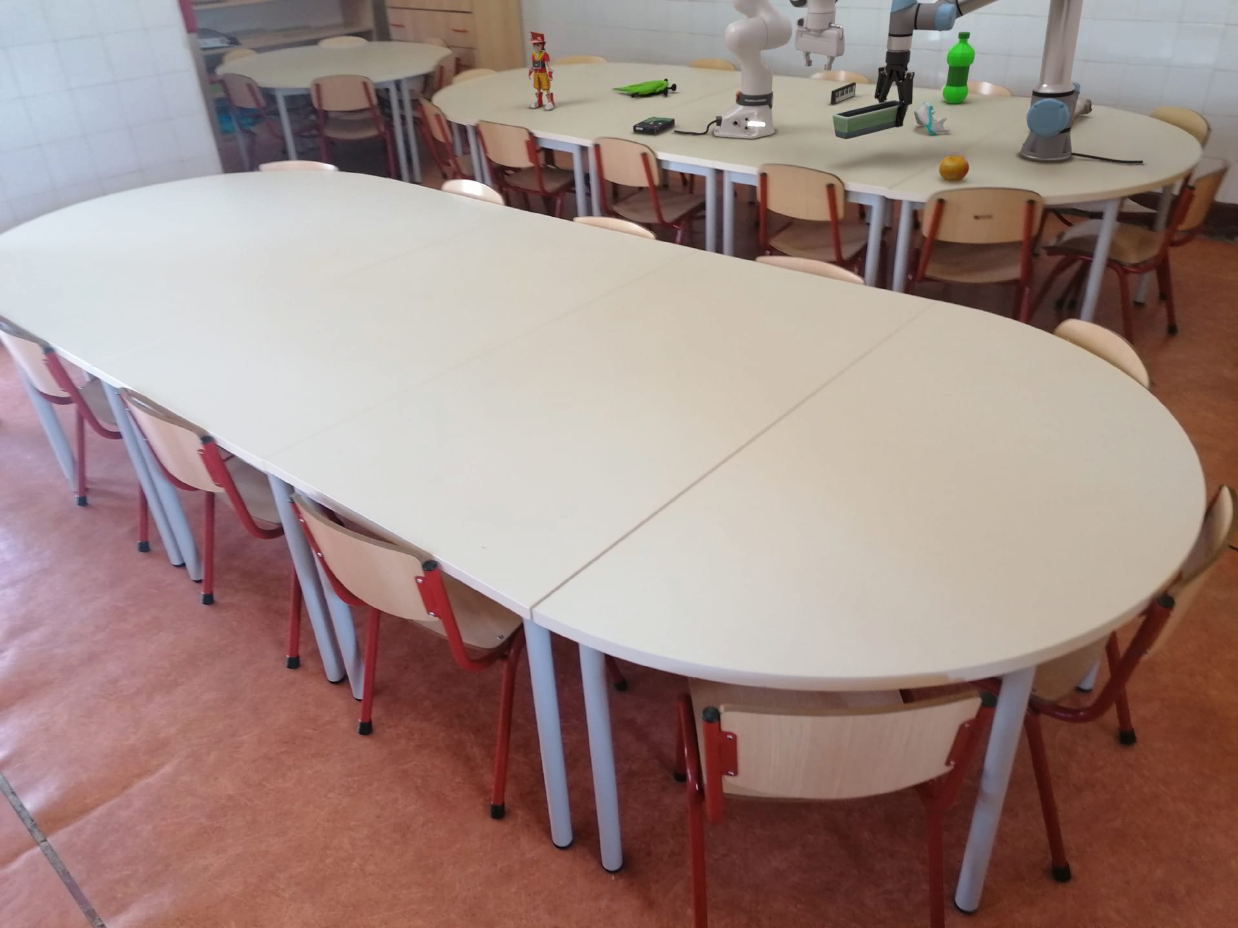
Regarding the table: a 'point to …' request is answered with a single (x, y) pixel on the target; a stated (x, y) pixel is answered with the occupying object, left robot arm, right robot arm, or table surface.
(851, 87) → the midi keyboard
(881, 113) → the planter
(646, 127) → the disk drive
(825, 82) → the table surface
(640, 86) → the toy
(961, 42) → the plastic bottle
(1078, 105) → the rolled mat
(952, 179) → the fruit
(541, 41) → the toy
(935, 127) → the anatomical model
